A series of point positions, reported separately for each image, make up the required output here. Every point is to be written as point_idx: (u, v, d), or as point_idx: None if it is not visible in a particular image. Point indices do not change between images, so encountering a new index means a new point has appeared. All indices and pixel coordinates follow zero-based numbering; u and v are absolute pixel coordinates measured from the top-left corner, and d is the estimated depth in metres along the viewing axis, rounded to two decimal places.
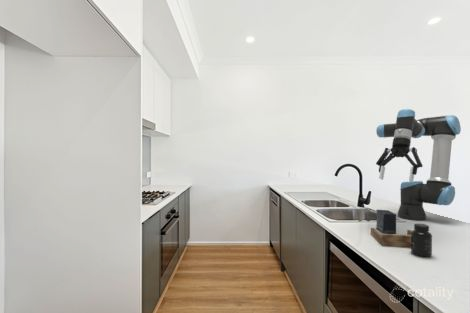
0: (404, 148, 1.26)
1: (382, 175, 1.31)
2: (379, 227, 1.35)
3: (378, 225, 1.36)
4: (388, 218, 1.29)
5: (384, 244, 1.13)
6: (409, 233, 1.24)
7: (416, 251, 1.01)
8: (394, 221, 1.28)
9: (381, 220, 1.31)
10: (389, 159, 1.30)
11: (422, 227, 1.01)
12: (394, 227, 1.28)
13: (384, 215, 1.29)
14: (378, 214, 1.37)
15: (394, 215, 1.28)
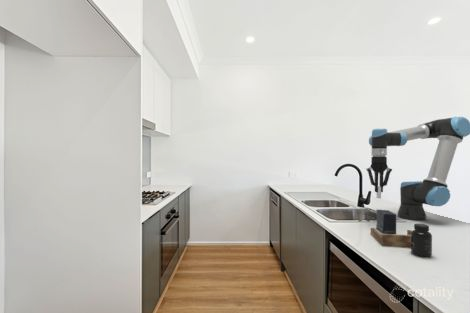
0: (385, 165, 1.43)
1: None
2: (379, 227, 1.35)
3: (378, 225, 1.36)
4: (388, 218, 1.29)
5: (384, 244, 1.13)
6: (409, 233, 1.24)
7: (416, 251, 1.01)
8: (394, 221, 1.28)
9: (381, 220, 1.31)
10: (377, 177, 1.44)
11: (422, 227, 1.01)
12: (394, 227, 1.28)
13: (384, 215, 1.29)
14: (378, 214, 1.37)
15: (394, 215, 1.28)
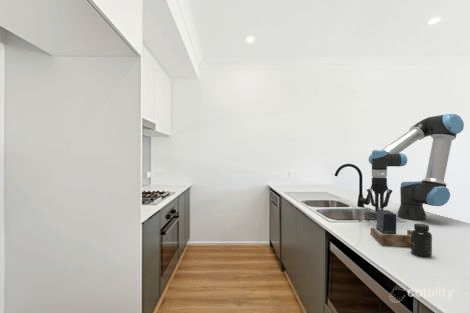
0: (385, 186, 1.43)
1: None
2: (379, 227, 1.35)
3: (378, 225, 1.36)
4: (388, 218, 1.29)
5: (384, 244, 1.13)
6: (409, 233, 1.24)
7: (416, 251, 1.01)
8: (394, 221, 1.28)
9: (381, 220, 1.31)
10: None
11: (422, 227, 1.01)
12: (394, 227, 1.28)
13: (384, 215, 1.29)
14: (378, 214, 1.37)
15: (394, 215, 1.28)
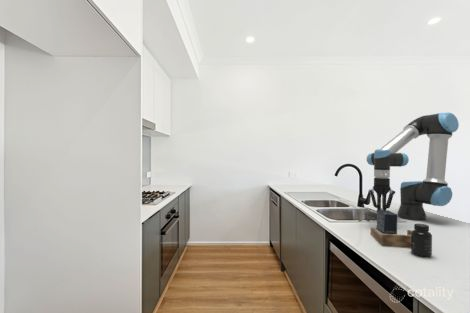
0: (388, 187, 1.38)
1: None
2: (379, 227, 1.34)
3: (379, 225, 1.35)
4: (389, 218, 1.28)
5: (384, 244, 1.13)
6: (409, 233, 1.24)
7: (416, 251, 1.01)
8: (395, 221, 1.28)
9: (382, 220, 1.30)
10: None
11: (422, 227, 1.01)
12: (395, 227, 1.28)
13: (385, 215, 1.28)
14: (378, 215, 1.36)
15: (395, 215, 1.28)
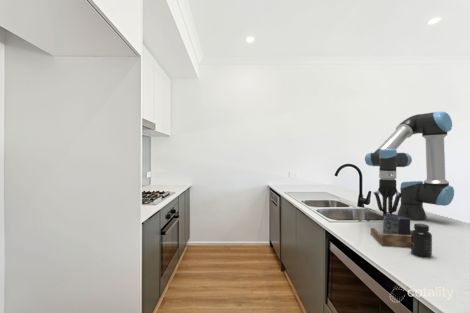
0: (394, 189, 1.29)
1: None
2: (390, 233, 1.23)
3: (388, 231, 1.25)
4: (404, 223, 1.19)
5: (384, 244, 1.13)
6: None
7: (416, 251, 1.01)
8: (408, 226, 1.19)
9: (395, 226, 1.20)
10: None
11: (422, 227, 1.01)
12: (408, 233, 1.19)
13: (400, 220, 1.18)
14: (386, 219, 1.26)
15: (408, 220, 1.19)
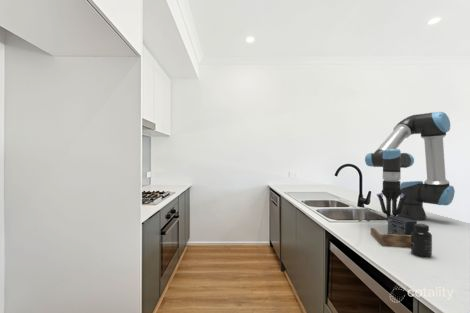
0: (398, 191, 1.24)
1: None
2: None
3: None
4: (410, 226, 1.14)
5: (384, 244, 1.13)
6: None
7: (416, 251, 1.01)
8: None
9: (402, 229, 1.15)
10: None
11: (422, 227, 1.01)
12: None
13: (407, 223, 1.14)
14: (391, 222, 1.21)
15: (415, 222, 1.15)
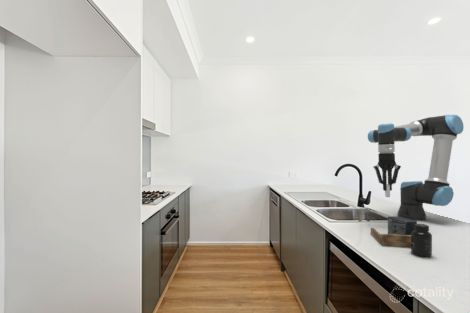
0: (393, 162, 1.35)
1: None
2: None
3: None
4: (410, 226, 1.14)
5: (384, 244, 1.13)
6: None
7: (416, 251, 1.01)
8: None
9: (402, 229, 1.15)
10: (385, 174, 1.37)
11: (422, 227, 1.01)
12: None
13: (407, 223, 1.14)
14: (392, 222, 1.21)
15: (415, 222, 1.15)
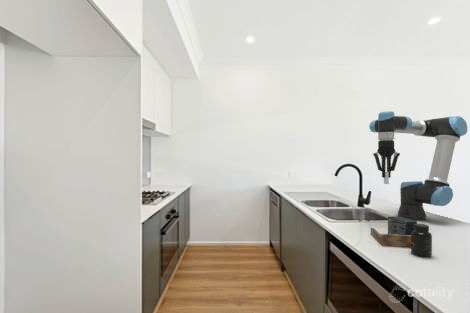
0: (392, 149, 1.37)
1: None
2: None
3: None
4: (410, 226, 1.14)
5: (384, 244, 1.13)
6: None
7: (416, 251, 1.01)
8: None
9: (402, 229, 1.15)
10: None
11: (422, 227, 1.01)
12: None
13: (407, 223, 1.14)
14: (392, 222, 1.21)
15: (415, 222, 1.15)
